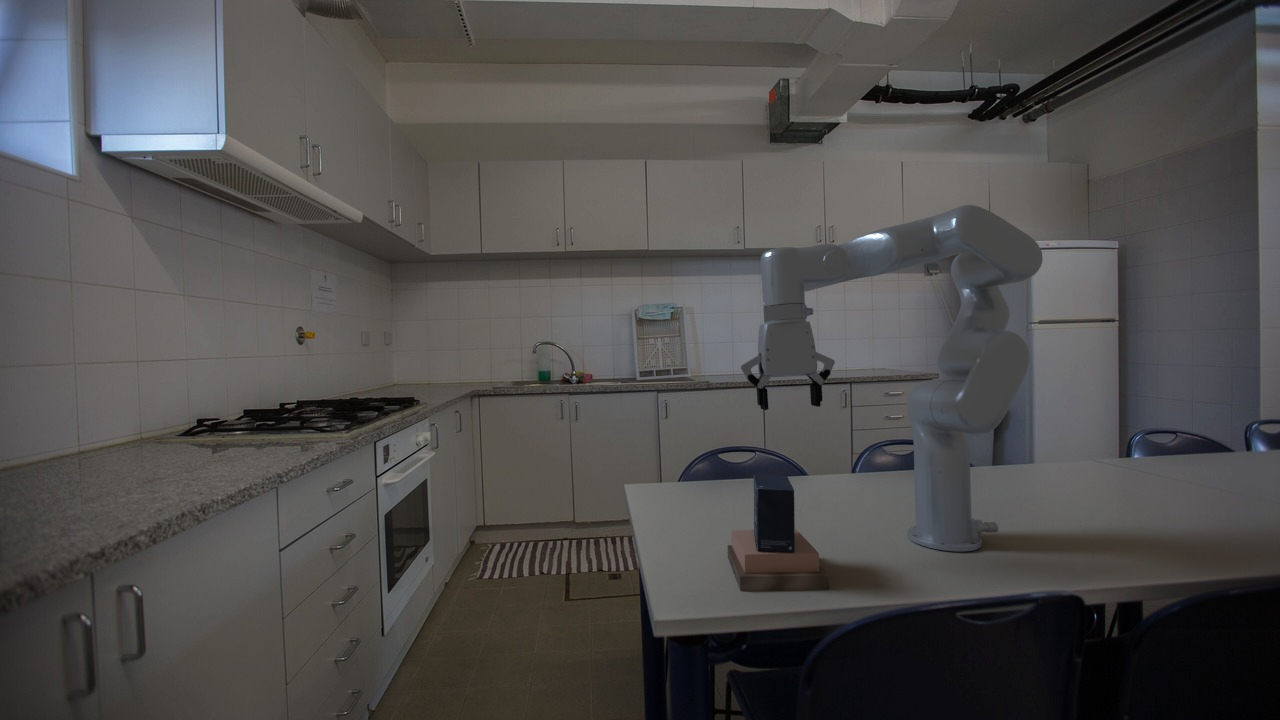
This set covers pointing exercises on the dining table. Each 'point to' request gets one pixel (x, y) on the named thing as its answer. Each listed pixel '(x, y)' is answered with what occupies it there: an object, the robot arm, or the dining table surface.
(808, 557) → the terracotta slab
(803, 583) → the walnut slab
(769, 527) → the small box
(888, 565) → the dining table surface
